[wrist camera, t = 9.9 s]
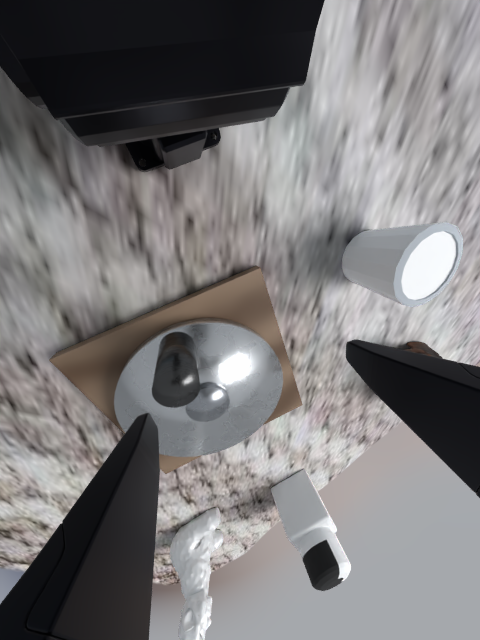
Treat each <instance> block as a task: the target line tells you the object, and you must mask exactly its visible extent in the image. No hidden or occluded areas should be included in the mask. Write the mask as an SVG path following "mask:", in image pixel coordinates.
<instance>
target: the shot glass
mask: <svg viewBox="0 0 480 640" xmlns="http://www.w3.org/2000/svg"><path fill="white" fill-rule="evenodd" d="M462 253H463V237H462V235H461V233H460V231H459V229H458V227H457V226H455V225H452V224H450V223H448V222H442V223H432V224H423V225H413V226H404V227H395V228H385V229H376V230H369V231H363V232H361V233H360V234H358V235H356V236H355V237H354V238H353V239H352V240H351V241H350V243H349V244H348V245H347V247H346V249H345V252H344V254H343V257H342V270H343V273H344V276H345V277H346V278H347V279H348V280H349V281H351V282H354V283H356V284H358V285H360V286H362V287H365V288H367V289H369V290H371V291H373V292H376V293H378V294H380V295H382V296H384V297H387V298H389V299H391V300H393V301H395V302H398V303H400V304H402V305H406V306H410V307H415V306H419V305H422V304H425V303H427V302H428V301H430V300H431V299H433V298H434V297H436V296H437V295H438V294H439V293H440V292H441V291H442V290H443V289H444V288H445V287H446V286H447V285H448V284H449V282H450V280H451V279H452V277H453V275H454V273H455V272H456V270H457V268H458V265H459V262H460V259H461V256H462Z"/></svg>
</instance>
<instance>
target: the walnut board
mask: <svg viewBox="0 0 480 640" xmlns="http://www.w3.org/2000/svg"><path fill="white" fill-rule="evenodd" d="M201 318H219V319H226V320H231V321H234V322H238V323H241V324H243V325H245V326H247V327H249V328H251V329H252V330H254V331H256V332H257V333H258V334H259V335H260V336H262V337H263V338H264V339H265V341H266V342H267V343H268V344H269V345H270V347H271V348H272V349H273V351H274V352H275V354H276V355H277V357H278V359H279V362H280V364H281V368H282V372H283V387H282V392H281V396H280V399H279V401H278V404H277V406H276V407H275V409H274V411H273V413H272V414H271V415H270V417H269V418H268V419H267V421H266V422H265V423H264V424H266V423H268V422H270V421H272V420H274V419H276V418H278V417H280V416H281V415H283V414H285V413H287V412H289V411H291V410H293V409H295V408H297V407H299V406H301V405H302V402H301V398H300V395H299V392H298V389H297V385H296V382H295V379H294V375H293V372H292V369H291V366H290V362H289V359H288V356H287V353H286V349H285V346H284V343H283V340H282V336H281V333H280V330H279V327H278V323H277V320H276V317H275V314H274V310H273V307H272V304H271V301H270V297H269V294H268V291H267V288H266V284H265V281H264V278H263V275H262V271H261V268H260V267H258V266H255V267H252V268H250V269H248V270H245V271H243V272H241V273H239V274H236V275H234V276H232V277H229V278H227V279H225V280H222V281H220V282H218V283H216V284H213V285H211V286H209V287H206V288H204V289H202V290H199V291H197V292H195V293H193V294H190V295H188V296H186V297H183V298H181V299H179V300H176V301H174V302H172V303H170V304H167V305H165V306H163V307H160V308H158V309H156V310H153V311H151V312H149V313H147V314H144V315H142V316H140V317H137V318H135V319H133V320H130V321H128V322H126V323H124V324H121V325H119V326H117V327H114V328H112V329H110V330H107V331H105V332H103V333H101V334H98V335H96V336H94V337H91V338H89V339H87V340H84V341H82V342H80V343H78V344H75V345H73V346H71V347H68V348H66V349H64V350H61V351H59V352H57V353H56V354H55V355H54V356H53V357H52V358H51V359H50V360H49V361H50V362H51V363H52V364H53V365H54V366H56V367H57V368H58V369H59V370H60V371H61V372H62V373H63V374H64V375H65V376H66V377H67V378H68V379H69V380H70V381H71V382H72V383H73V384H74V385H75V386H76V387H77V388H78V389H79V390H80V391H81V392H82V393H83V394H84V395H85V396H86V397H87V398H88V399H89V400H90V401H91V402H92V403H93V404H95V405H96V406H97V407H98V408H99V409H100V410H101V411H102V412H103V413H104V414H105V415H106V416H107V417H108V418H109V419H110V420H111V421H112V422H113V423H114V424H115V425H116V426H117V427H118V428H119V429H120V430H121V431H122V432H123V433H124V434H125V432H124V431H123V429H122V428H121V426H120V424H119V422H118V420H117V417H116V414H115V407H114V396H115V390H116V386H117V383H118V380H119V378H120V375H121V373H122V371H123V368H124V366H125V364H126V362H127V361H128V359H129V358H130V356H131V355H132V353H133V352H134V351H135V350H136V349H137V348H138V347H139V346H140V345H141V344H142V343H143V342H144V341H146V340H147V339H148V338H149V337H151V336H152V335H154V334H156V333H157V332H159V331H161V330H163V329H165V328H167V327H169V326H171V325H174V324H177V323H180V322H183V321H188V320H193V319H201ZM264 424H263V425H264ZM198 457H200V456H194V457H175V456H167V455H162V454H159V463H160V469H161V470H162V471H163V472H164V473H165V474H167V473H169V472H171V471H173V470H175V469H177V468H179V467H181V466H183V465H185V464H187V463H189V462H190V461H192V460H194V459H196V458H198Z"/></svg>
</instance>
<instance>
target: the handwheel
mask: <svg viewBox="0 0 480 640" xmlns="http://www.w3.org/2000/svg"><path fill="white" fill-rule="evenodd" d="M282 387H283V372H282V368H281V364H280V362H279V359H278V357H277V355H276V354H275V352H274V351H273V349H272V348H271V347H270V345H269V344H268V343H267V342H266V341H265V339H264V338H263V337H262V336H260V335H259V334H258V333H257V332H256V331H254V330H252V329H251V328H249V327H247V326H245V325H243V324H241V323H238V322H234V321H231V320H226V319H219V318H201V319H193V320H188V321H183V322H180V323H177V324H174V325H171V326H169V327H167V328H165V329H163V330H161V331H159V332H157V333H156V334H154V335H152V336H151V337H149V338H148V339H147V340H146V341H144V342H143V343H142V344H141V345H140V346H139V347H138V348H137V349H136V350H135V351H134V352H133V353H132V355H131V356H130V358H129V359H128V361H127V362H126V364H125V366H124V368H123V371H122V373H121V375H120V378H119V380H118V383H117V386H116V390H115V396H114V407H115V414H116V417H117V420H118V422H119V424H120V426H121V428H122V429H123V431H124V432H125V433H126V432H127V430H128V429H129V427H130V426H131V425H132V423H133V422H134V420H135V419H136V418H137V417H138V416H139V415H142V414H145V413H149V414H150V415H151V416H152V418H153V420H154V421H155V423H156V425H157V428H158V438H159V454H162V455H167V456H175V457H194V456H202V455H208V454H212V453H216V452H219V451H222V450H225V449H227V448H229V447H232V446H234V445H236V444H238V443H239V442H241V441H243V440H244V439H246V438H247V437H249V436H250V435H252V434H253V433H254V432H255V431H257V430H258V429H259V428H260V427H261V426H262V425H263V424H264V423H265V422H266V421H267V419H268V418H269V417H270V415H271V414H272V413H273V411H274V409H275V407H276V406H277V404H278V401H279V399H280V396H281V392H282Z"/></svg>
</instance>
